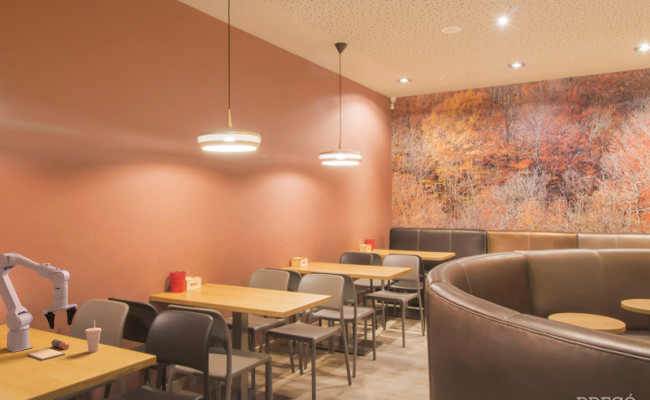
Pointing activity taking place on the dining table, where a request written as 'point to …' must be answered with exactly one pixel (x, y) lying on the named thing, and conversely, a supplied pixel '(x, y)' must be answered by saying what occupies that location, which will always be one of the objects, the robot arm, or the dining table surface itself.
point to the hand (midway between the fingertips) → (60, 326)
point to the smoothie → (93, 338)
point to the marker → (60, 344)
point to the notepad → (45, 354)
